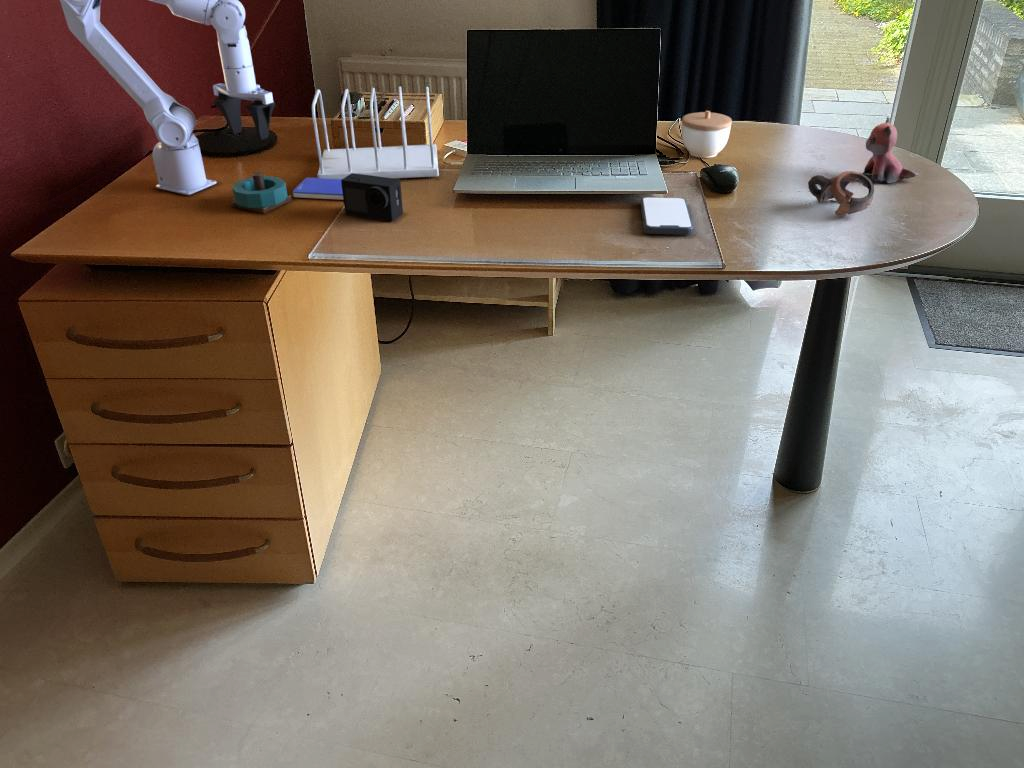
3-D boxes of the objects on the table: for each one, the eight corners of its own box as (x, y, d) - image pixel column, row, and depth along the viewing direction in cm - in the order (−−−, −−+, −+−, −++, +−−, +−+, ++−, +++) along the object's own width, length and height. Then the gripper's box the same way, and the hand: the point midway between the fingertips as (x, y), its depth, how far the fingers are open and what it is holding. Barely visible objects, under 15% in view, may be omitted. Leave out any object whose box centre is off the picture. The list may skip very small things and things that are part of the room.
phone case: (639, 204, 167) (644, 235, 154) (640, 196, 167) (644, 227, 153) (685, 205, 167) (693, 236, 153) (686, 197, 166) (694, 228, 152)
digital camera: (341, 217, 163) (336, 181, 159) (355, 207, 167) (351, 172, 163) (389, 224, 160) (386, 188, 156) (403, 214, 164) (400, 178, 160)
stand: (232, 206, 168) (227, 177, 164) (261, 193, 174) (256, 164, 170) (263, 213, 164) (258, 183, 161) (291, 200, 170) (287, 170, 167)
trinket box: (669, 153, 192) (672, 111, 187) (698, 143, 198) (702, 101, 193) (708, 164, 186) (713, 121, 181) (737, 153, 192) (742, 111, 187)
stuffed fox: (920, 187, 173) (935, 128, 166) (862, 185, 175) (875, 126, 168) (911, 175, 179) (926, 117, 173) (855, 172, 181) (868, 115, 174)
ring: (224, 202, 167) (221, 188, 165) (259, 186, 174) (257, 173, 173) (262, 211, 163) (260, 197, 161) (297, 194, 170) (295, 181, 169)
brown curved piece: (863, 203, 167) (883, 175, 160) (854, 239, 163) (873, 212, 156) (804, 182, 169) (821, 153, 161) (793, 217, 165) (810, 189, 157)
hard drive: (292, 190, 170) (352, 193, 169) (307, 176, 177) (364, 179, 175) (293, 198, 171) (353, 201, 170) (308, 183, 178) (365, 186, 176)
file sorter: (436, 152, 194) (432, 81, 186) (439, 178, 180) (434, 103, 171) (324, 157, 192) (315, 85, 184) (318, 184, 178) (307, 107, 169)
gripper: (279, 65, 166) (290, 135, 173) (227, 57, 172) (240, 125, 180) (252, 73, 161) (264, 144, 168) (199, 64, 167) (213, 134, 175)
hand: (250, 135), depth 174 cm, fingers open, 7 cm apart
